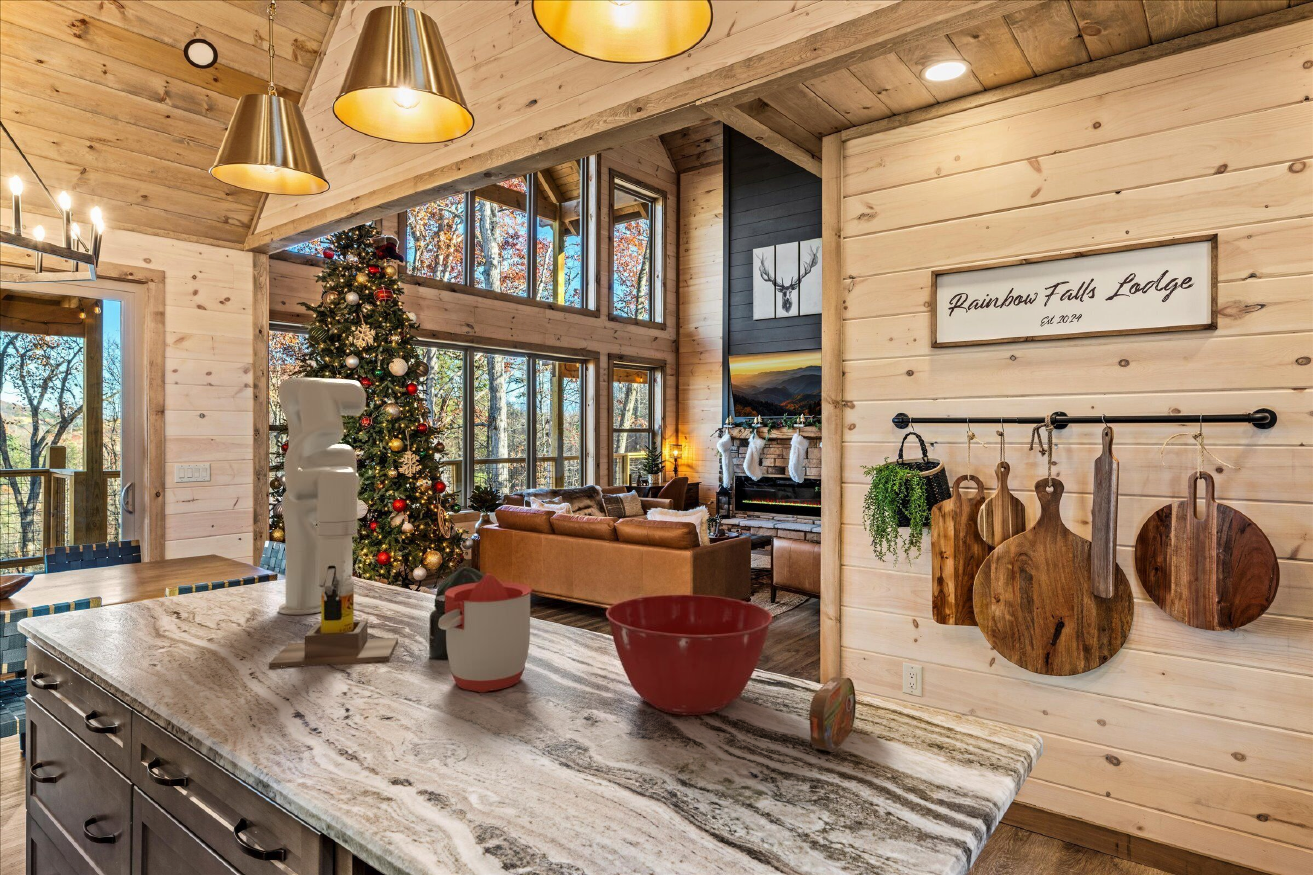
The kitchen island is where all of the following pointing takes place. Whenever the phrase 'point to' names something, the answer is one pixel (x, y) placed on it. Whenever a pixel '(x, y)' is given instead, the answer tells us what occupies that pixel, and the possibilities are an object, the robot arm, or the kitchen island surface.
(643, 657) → the mixing bowl
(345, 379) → the robot arm
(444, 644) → the supplement bottle
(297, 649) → the can caddy
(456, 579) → the squash
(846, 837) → the kitchen island surface
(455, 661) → the citrus juicer
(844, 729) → the tin
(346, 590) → the beer can
